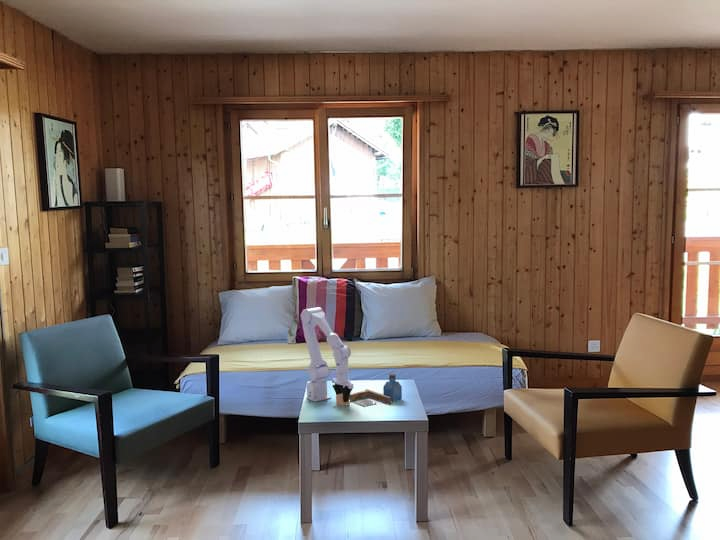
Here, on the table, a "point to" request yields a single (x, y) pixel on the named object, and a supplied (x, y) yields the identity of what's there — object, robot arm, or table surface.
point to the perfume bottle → (393, 388)
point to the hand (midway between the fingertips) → (342, 400)
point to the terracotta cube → (341, 400)
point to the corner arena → (369, 394)
